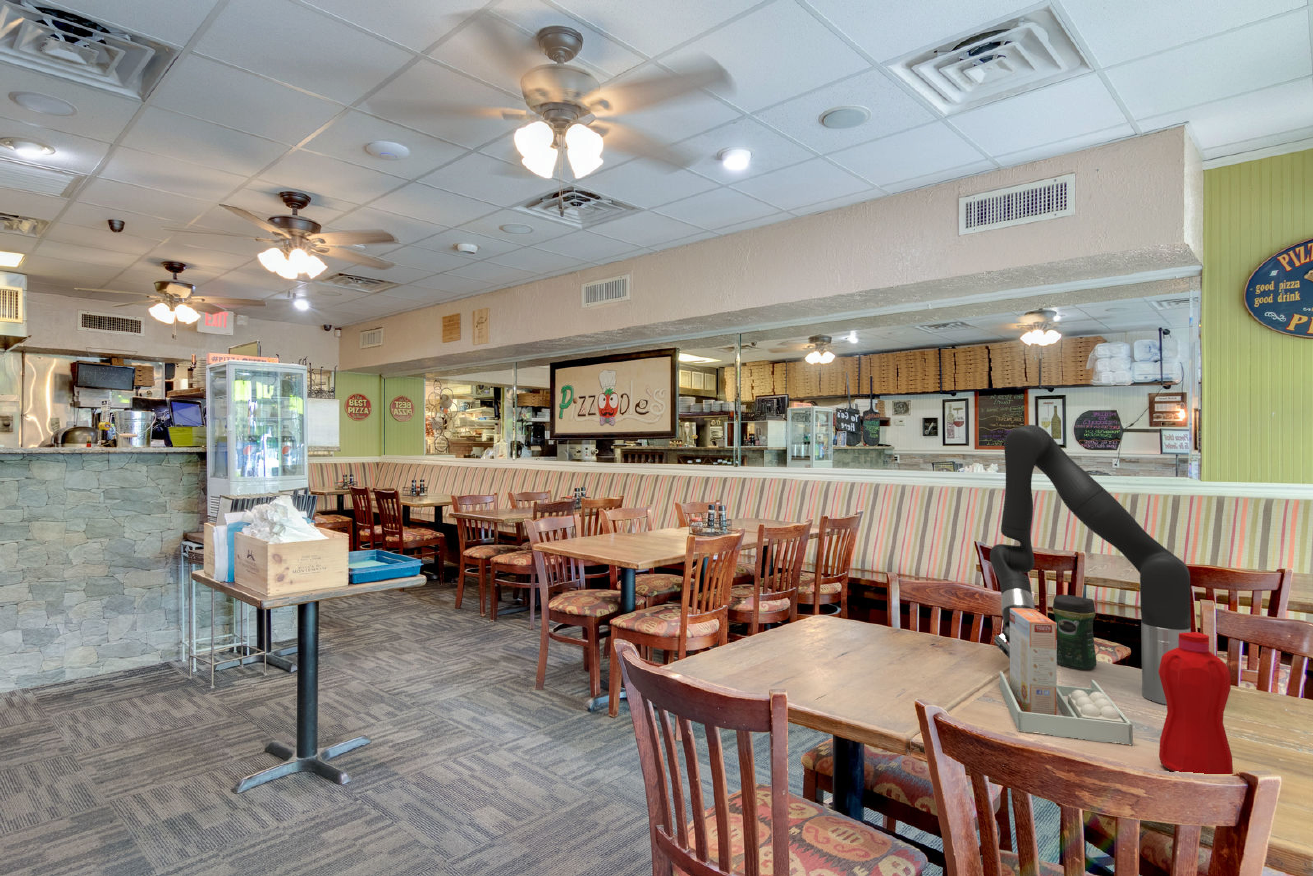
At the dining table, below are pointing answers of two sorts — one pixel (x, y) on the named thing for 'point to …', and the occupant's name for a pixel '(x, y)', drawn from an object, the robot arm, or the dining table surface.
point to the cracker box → (1033, 661)
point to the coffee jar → (1075, 631)
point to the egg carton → (1093, 706)
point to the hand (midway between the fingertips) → (1026, 675)
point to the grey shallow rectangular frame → (1068, 718)
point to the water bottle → (1195, 708)
